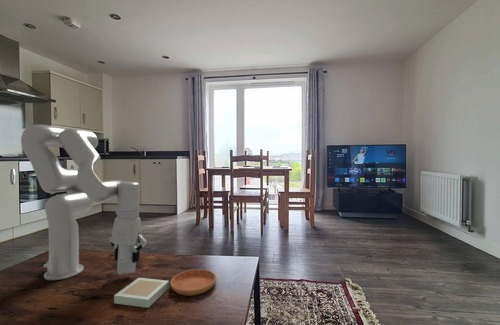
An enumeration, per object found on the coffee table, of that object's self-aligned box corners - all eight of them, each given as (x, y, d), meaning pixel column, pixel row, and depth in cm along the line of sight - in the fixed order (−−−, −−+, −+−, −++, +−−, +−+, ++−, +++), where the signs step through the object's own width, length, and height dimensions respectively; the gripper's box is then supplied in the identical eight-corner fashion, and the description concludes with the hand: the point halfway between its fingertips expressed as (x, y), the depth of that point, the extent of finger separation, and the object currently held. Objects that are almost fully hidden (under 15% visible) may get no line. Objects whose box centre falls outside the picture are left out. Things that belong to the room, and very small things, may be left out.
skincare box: (118, 275, 91) (119, 242, 91) (116, 270, 95) (117, 239, 95) (136, 271, 95) (137, 240, 94) (134, 267, 98) (135, 236, 98)
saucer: (161, 289, 87) (160, 280, 87) (196, 272, 99) (196, 265, 99) (190, 305, 77) (190, 295, 77) (225, 284, 90) (225, 276, 90)
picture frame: (114, 303, 77) (114, 295, 77) (138, 284, 89) (138, 277, 89) (148, 307, 75) (148, 299, 75) (169, 287, 87) (169, 280, 87)
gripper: (101, 214, 93) (99, 261, 93) (142, 218, 89) (140, 267, 89) (115, 210, 100) (114, 254, 100) (154, 214, 96) (152, 259, 97)
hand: (126, 259), depth 95 cm, fingers closed on skincare box, 7 cm apart
